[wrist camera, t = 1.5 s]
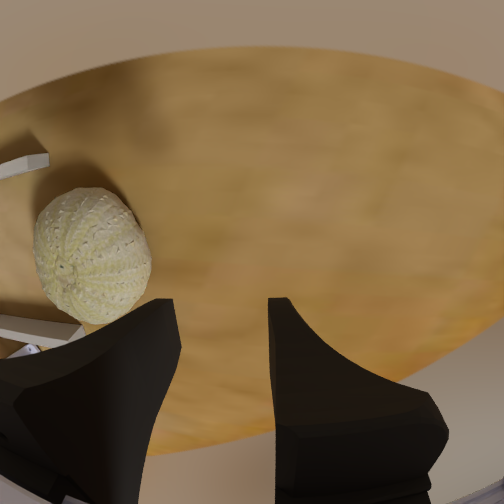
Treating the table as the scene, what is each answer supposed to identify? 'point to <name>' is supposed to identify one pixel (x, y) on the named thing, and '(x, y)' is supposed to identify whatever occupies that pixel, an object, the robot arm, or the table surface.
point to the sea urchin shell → (91, 255)
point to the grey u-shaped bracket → (25, 327)
